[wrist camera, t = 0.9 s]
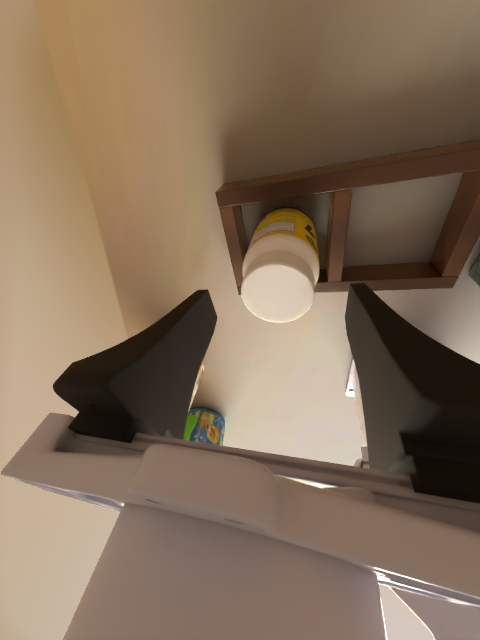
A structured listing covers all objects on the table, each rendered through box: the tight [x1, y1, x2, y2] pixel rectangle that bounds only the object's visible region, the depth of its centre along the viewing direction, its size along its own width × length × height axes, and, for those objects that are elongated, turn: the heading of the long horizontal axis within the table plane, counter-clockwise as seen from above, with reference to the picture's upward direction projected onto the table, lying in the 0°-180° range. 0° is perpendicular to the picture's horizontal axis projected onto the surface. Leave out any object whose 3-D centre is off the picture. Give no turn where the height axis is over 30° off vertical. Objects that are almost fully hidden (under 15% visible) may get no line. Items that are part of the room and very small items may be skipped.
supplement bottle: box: [241, 205, 319, 322], centre depth 15 cm, size 5×5×8 cm
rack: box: [216, 140, 480, 295], centre depth 17 cm, size 8×16×2 cm, turn 100°
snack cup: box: [183, 408, 225, 446], centre depth 42 cm, size 16×10×10 cm
